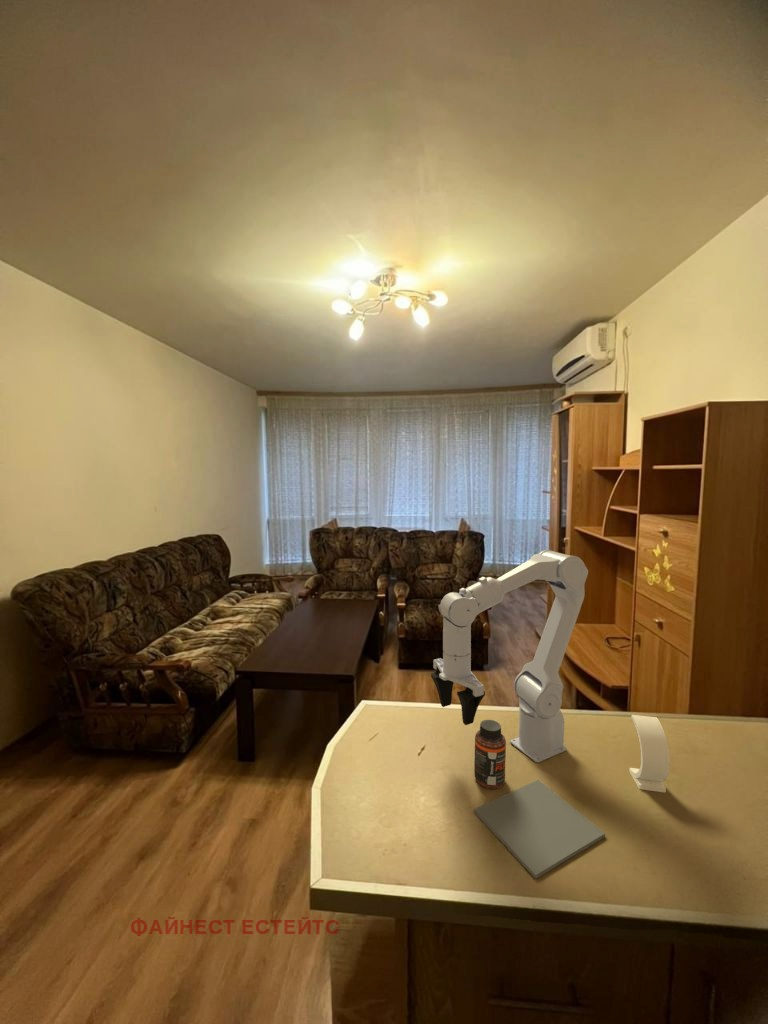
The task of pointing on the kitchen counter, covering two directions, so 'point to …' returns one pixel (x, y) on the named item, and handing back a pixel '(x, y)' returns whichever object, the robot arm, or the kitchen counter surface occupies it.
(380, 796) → the kitchen counter surface
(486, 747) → the supplement bottle
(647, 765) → the headphone stand
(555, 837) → the mat
